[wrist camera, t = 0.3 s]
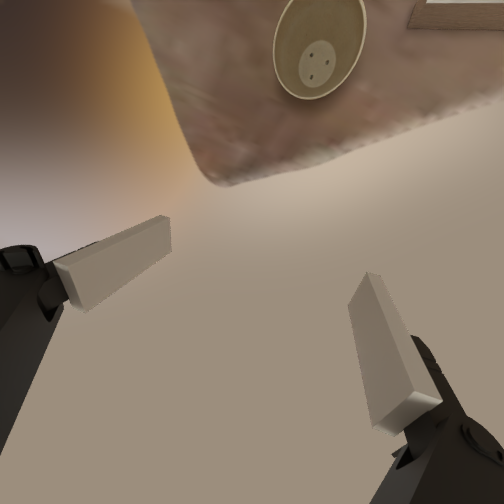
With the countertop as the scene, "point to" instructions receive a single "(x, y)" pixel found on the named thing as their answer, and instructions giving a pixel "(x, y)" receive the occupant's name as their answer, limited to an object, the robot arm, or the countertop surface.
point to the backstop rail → (458, 15)
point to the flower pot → (318, 45)
